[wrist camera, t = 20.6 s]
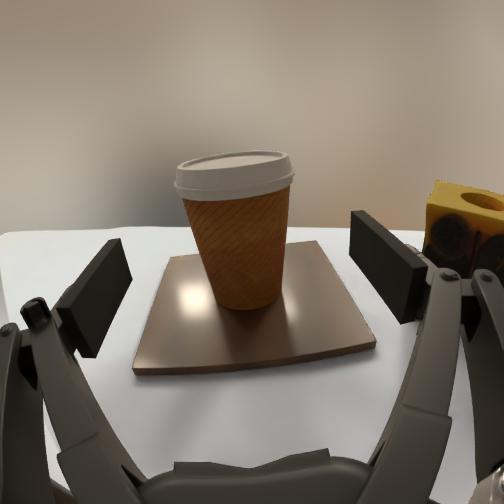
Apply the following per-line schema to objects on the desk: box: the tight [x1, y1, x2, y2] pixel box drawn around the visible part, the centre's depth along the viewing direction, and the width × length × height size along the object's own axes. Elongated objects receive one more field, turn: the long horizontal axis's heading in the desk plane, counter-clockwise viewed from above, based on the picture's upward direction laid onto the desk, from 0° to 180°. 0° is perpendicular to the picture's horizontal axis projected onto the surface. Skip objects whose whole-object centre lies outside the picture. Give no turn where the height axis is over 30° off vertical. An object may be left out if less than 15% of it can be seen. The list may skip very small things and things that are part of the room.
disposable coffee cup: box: [173, 150, 296, 310], centre depth 24 cm, size 10×10×12 cm
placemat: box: [132, 240, 377, 375], centre depth 27 cm, size 18×18×1 cm
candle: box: [416, 180, 504, 319], centre depth 20 cm, size 10×10×10 cm
